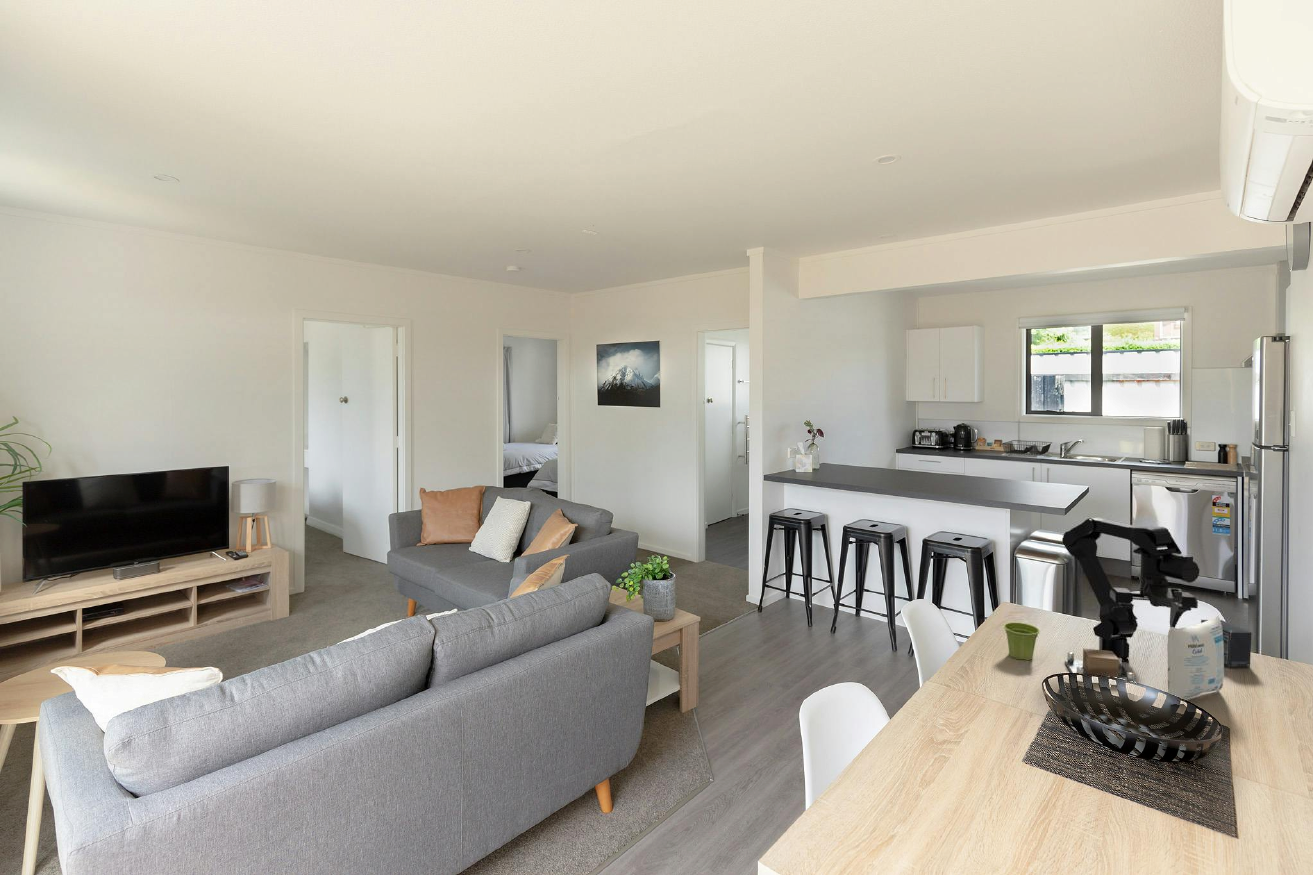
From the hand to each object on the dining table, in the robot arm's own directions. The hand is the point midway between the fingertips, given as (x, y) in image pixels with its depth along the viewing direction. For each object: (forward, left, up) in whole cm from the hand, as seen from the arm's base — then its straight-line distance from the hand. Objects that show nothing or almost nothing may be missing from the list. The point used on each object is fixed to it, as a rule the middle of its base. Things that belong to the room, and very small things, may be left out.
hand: (1151, 627), depth 182 cm
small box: (+23, +16, -13) cm, 31 cm away
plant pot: (-31, +3, -13) cm, 34 cm away
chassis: (-13, -5, -13) cm, 19 cm away
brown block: (-13, -5, -12) cm, 18 cm away
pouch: (+5, -14, -13) cm, 20 cm away
